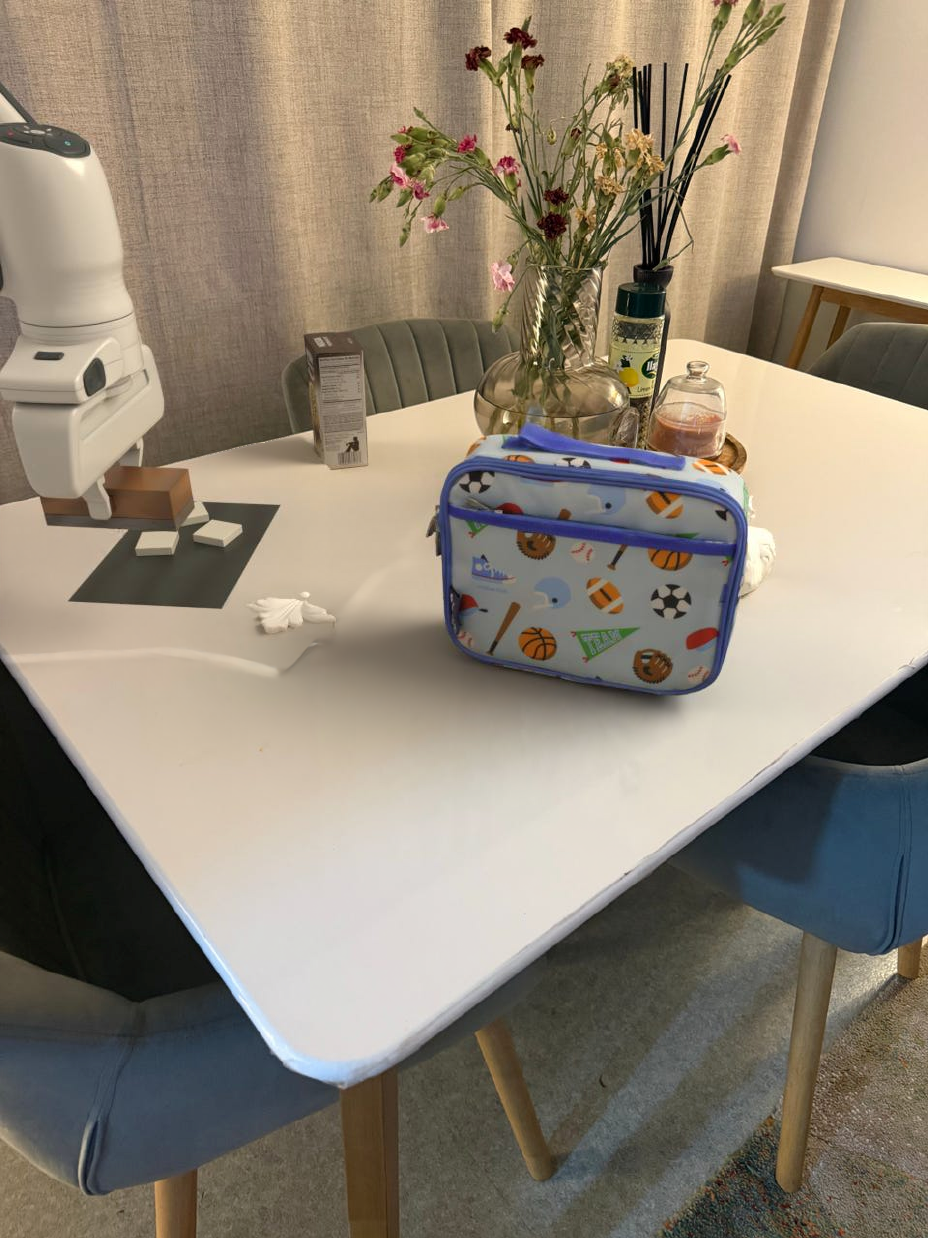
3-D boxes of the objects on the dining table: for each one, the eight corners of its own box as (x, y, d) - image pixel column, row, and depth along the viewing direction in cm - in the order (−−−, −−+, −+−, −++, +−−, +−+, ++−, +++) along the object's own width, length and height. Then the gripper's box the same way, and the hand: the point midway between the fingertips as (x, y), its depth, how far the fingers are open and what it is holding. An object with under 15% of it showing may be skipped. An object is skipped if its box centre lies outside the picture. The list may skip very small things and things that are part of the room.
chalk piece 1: (136, 556, 98) (134, 548, 98) (143, 539, 102) (142, 531, 101) (173, 554, 99) (171, 547, 98) (179, 538, 102) (178, 530, 101)
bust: (755, 585, 100) (722, 491, 100) (809, 571, 94) (773, 471, 94) (681, 617, 95) (645, 517, 94) (732, 605, 88) (693, 498, 88)
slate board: (56, 613, 90) (53, 605, 90) (150, 502, 112) (149, 495, 111) (229, 621, 89) (228, 614, 89) (291, 508, 111) (290, 501, 110)
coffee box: (312, 446, 128) (302, 332, 119) (356, 441, 129) (349, 329, 120) (323, 471, 120) (313, 352, 112) (370, 465, 122) (363, 348, 113)
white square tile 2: (193, 541, 101) (192, 534, 101) (213, 526, 104) (211, 519, 104) (224, 547, 100) (222, 539, 100) (242, 532, 103) (241, 524, 103)
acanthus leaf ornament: (337, 628, 88) (335, 612, 87) (271, 648, 85) (269, 632, 84) (307, 593, 94) (306, 578, 93) (244, 611, 91) (242, 596, 90)
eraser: (46, 525, 80) (35, 485, 78) (71, 501, 84) (61, 462, 82) (176, 532, 79) (169, 491, 77) (195, 507, 84) (188, 468, 81)
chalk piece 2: (175, 527, 104) (173, 520, 104) (169, 514, 107) (167, 506, 107) (209, 521, 106) (208, 513, 105) (202, 507, 109) (201, 500, 108)
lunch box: (417, 664, 83) (412, 442, 71) (450, 608, 92) (450, 401, 80) (717, 720, 77) (767, 486, 65) (723, 653, 85) (768, 436, 73)
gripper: (100, 314, 82) (129, 454, 90) (-17, 386, 65) (31, 552, 73) (167, 317, 82) (190, 457, 89) (67, 390, 65) (106, 555, 72)
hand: (118, 500), depth 81 cm, fingers closed on eraser, 5 cm apart
